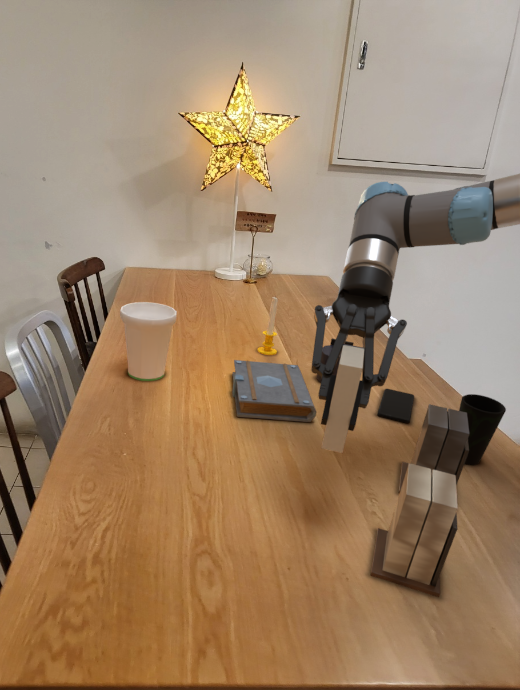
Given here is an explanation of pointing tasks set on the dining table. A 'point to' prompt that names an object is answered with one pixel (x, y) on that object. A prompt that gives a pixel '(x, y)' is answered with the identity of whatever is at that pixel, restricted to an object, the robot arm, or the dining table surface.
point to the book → (271, 392)
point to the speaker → (325, 356)
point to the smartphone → (396, 405)
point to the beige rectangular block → (343, 397)
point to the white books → (418, 531)
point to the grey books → (441, 442)
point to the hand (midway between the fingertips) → (337, 424)
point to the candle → (270, 331)
